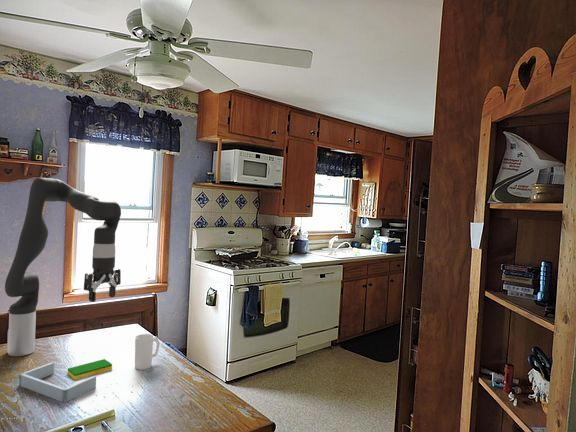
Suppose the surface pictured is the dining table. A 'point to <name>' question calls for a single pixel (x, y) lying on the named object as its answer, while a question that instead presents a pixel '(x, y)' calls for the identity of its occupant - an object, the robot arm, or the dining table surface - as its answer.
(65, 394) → the frame
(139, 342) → the mug
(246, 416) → the dining table surface
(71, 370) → the dish sponge
